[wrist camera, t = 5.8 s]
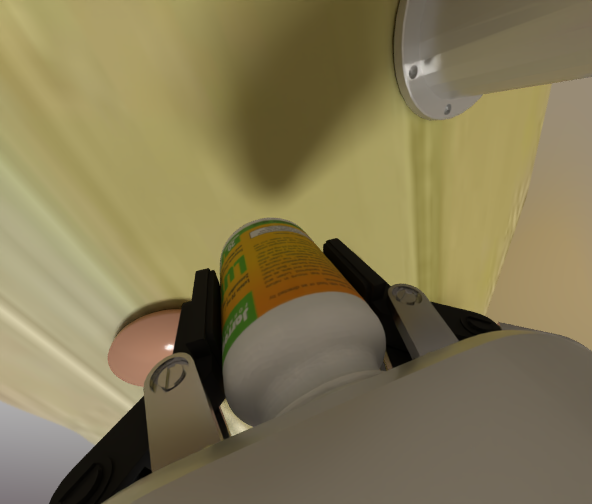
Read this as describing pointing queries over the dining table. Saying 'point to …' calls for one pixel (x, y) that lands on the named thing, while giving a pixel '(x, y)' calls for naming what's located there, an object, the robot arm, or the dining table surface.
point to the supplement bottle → (289, 323)
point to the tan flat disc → (143, 345)
